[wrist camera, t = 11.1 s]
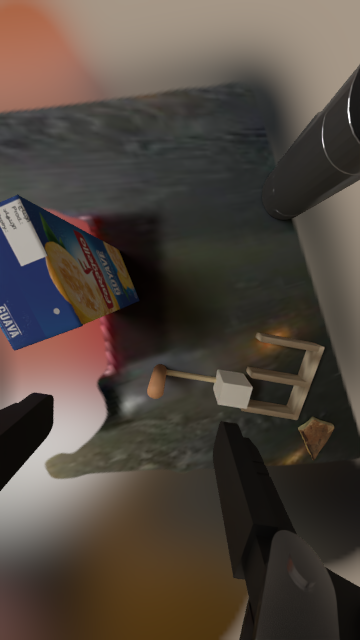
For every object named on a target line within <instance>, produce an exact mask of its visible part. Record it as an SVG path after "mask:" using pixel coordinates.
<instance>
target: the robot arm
mask: <svg viewBox="0 0 360 640" xmlns="http://www.w3.org/2000/svg"><path fill="white" fill-rule="evenodd" d="M358 180H360V65H359V66H358V67H357V69H356V70H355V71H354V72H353V74H352V75H351V76H350V77H349V79H348V80H347V81H346V82H345V83H344V85H343V86H342V87H341V88H340V89H339V91H338V92H337V93H336V95H335V96H334V97H333V98H332V99H331V101H330V102H329V103H328V104H327V106H326V107H325V108H324V109H323V111H321V112H319V113H317V115H315V117H314V118H313V119H312V120H311V122H310V123H309V124H308V125H307V127H306V128H305V129H304V130H303V131H302V133H301V134H300V135H299V137H298V138H297V139H296V140H295V141H294V143H293V144H292V145H291V146H290V148H289V149H288V150H287V152H286V153H285V154H284V155H283V156H282V158H281V159H280V160H279V161H278V163H277V166H276V167H275V168H274V170H273V171H272V172H271V173H270V175H269V176H268V178H267V179H266V181H265V183H264V186H263V190H262V201H263V204H264V207H265V209H266V211H267V212H268V213H269V214H270V215H271V216H273V217H274V218H277V219H280V220H287V219H291V218H294V217H296V216H298V215H299V214H301V213H303V212H305V211H306V210H308V209H310V208H311V207H313V206H315V205H317V204H319V203H320V202H322V201H324V200H325V199H327V198H329V197H331V196H332V195H334V194H335V193H337V192H339V191H341V190H343V189H344V188H346V187H348V186H350V185H351V184H353V183H355V182H357V181H358ZM53 401H54V399H53V396H52V395H47V394H41V393H32V394H30V395H29V396H27V397H26V398H25V399H24V400H22V401H21V402H19V403H15V404H12V405H10V406H8V407H6V408H4V409H1V410H0V491H1V490H2V488H3V487H4V486H5V485H6V484H7V483H8V481H9V480H10V479H11V478H12V477H13V476H14V475H15V473H16V472H17V471H18V470H19V469H20V468H21V467H22V465H23V464H24V463H25V462H26V461H27V460H28V458H29V457H30V456H31V455H32V454H33V453H34V451H35V450H36V449H37V448H38V447H39V446H40V445H41V443H42V442H43V441H44V440H45V439H46V438H47V436H48V435H49V433H50V431H51V429H52V426H53ZM213 463H214V469H215V475H216V480H217V486H218V492H219V497H220V503H221V509H222V514H223V520H224V526H225V532H226V537H227V543H228V549H229V554H230V560H231V565H232V571H233V577H234V578H237V579H245V581H246V585H247V590H248V595H249V599H248V603H247V606H246V611H245V616H244V620H243V625H242V629H241V634H240V639H239V640H360V587H359V586H357V585H355V584H353V583H351V582H350V581H348V580H346V579H344V578H343V577H341V576H339V575H337V574H335V573H334V572H332V571H331V570H329V569H328V568H326V567H325V566H324V564H323V563H322V561H321V560H320V558H319V557H318V555H317V554H316V553H315V551H314V550H313V549H312V548H311V547H310V546H309V545H308V544H307V543H306V542H305V541H304V540H303V539H302V538H300V537H299V536H298V535H297V534H296V532H295V530H294V528H293V526H292V523H291V521H290V519H289V517H288V515H287V512H286V510H285V508H284V506H283V504H282V501H281V499H280V497H279V495H278V493H277V490H276V488H275V486H274V484H273V481H272V479H271V477H269V473H268V470H267V468H266V466H265V465H264V462H263V459H262V457H261V455H260V453H259V451H258V449H257V448H256V446H255V445H254V444H253V443H252V442H251V440H250V439H249V438H244V437H243V436H242V433H241V431H240V428H239V426H238V424H236V423H229V422H223V421H221V422H220V424H219V428H218V432H217V436H216V439H215V443H214V448H213Z"/></svg>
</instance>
